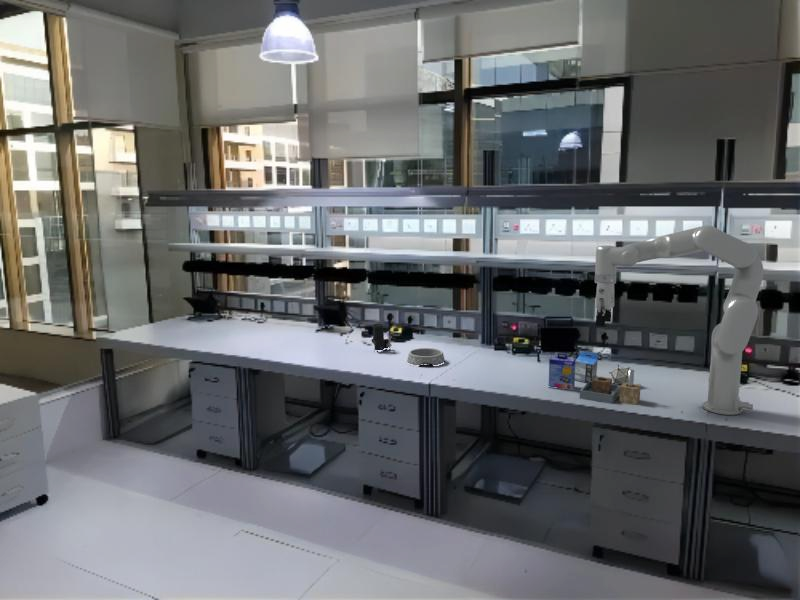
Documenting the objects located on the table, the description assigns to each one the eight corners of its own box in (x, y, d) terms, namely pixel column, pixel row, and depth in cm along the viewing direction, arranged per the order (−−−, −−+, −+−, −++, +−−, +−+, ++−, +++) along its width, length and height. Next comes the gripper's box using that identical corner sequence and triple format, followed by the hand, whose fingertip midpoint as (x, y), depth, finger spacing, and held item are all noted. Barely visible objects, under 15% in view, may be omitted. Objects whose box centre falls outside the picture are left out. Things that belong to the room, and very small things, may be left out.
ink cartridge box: (547, 388, 235) (548, 353, 232) (549, 384, 240) (550, 350, 237) (573, 390, 231) (574, 355, 229) (574, 386, 236) (576, 352, 234)
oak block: (639, 400, 219) (640, 384, 218) (636, 404, 214) (637, 389, 213) (622, 397, 222) (623, 382, 221) (619, 402, 217) (620, 386, 216)
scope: (391, 323, 298) (380, 327, 290) (391, 349, 301) (381, 354, 292) (378, 322, 303) (367, 325, 294) (378, 348, 305) (367, 352, 296)
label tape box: (572, 380, 245) (573, 351, 243) (578, 378, 248) (579, 350, 246) (591, 384, 238) (592, 355, 237) (596, 382, 241) (598, 353, 239)
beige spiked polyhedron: (616, 392, 240) (609, 369, 244) (637, 387, 236) (630, 364, 241) (611, 387, 233) (605, 364, 237) (633, 381, 229) (626, 358, 234)
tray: (620, 393, 227) (620, 385, 227) (612, 403, 215) (612, 395, 215) (589, 388, 233) (589, 381, 233) (579, 398, 222) (579, 390, 221)
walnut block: (611, 393, 225) (612, 378, 224) (608, 397, 220) (608, 382, 219) (595, 391, 228) (596, 376, 227) (591, 395, 223) (592, 380, 222)
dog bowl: (446, 367, 267) (446, 356, 266) (406, 367, 268) (406, 356, 267) (444, 358, 284) (444, 347, 283) (406, 358, 284) (406, 347, 284)
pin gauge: (632, 400, 218) (634, 369, 216) (631, 402, 216) (633, 371, 215) (627, 399, 219) (629, 369, 217) (626, 401, 218) (627, 370, 216)
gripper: (610, 282, 208) (608, 328, 211) (620, 277, 223) (618, 320, 225) (589, 280, 212) (587, 326, 215) (600, 276, 227) (598, 319, 229)
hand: (603, 323), depth 220 cm, fingers open, 9 cm apart
